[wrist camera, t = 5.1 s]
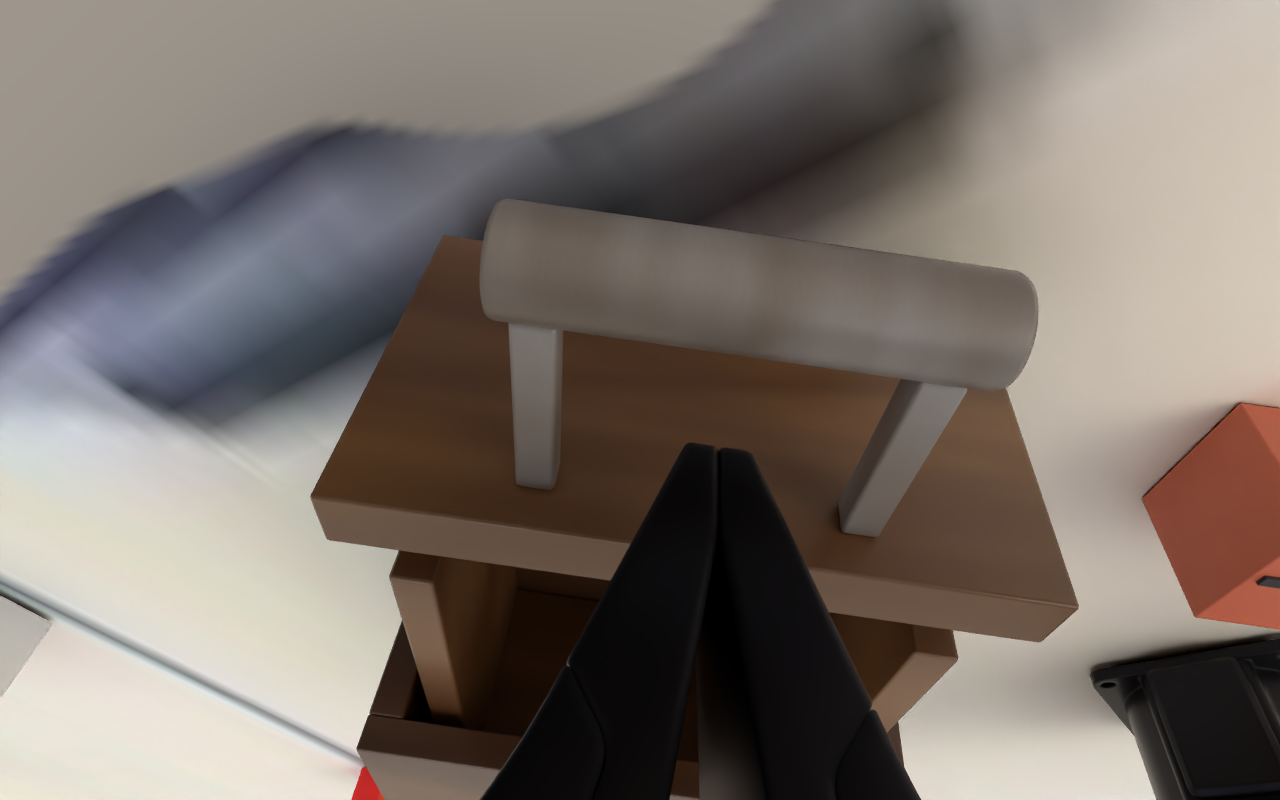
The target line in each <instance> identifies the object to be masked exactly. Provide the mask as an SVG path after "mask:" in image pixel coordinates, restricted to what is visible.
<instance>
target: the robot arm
mask: <svg viewBox="0 0 1280 800" xmlns="http://www.w3.org/2000/svg"><path fill="white" fill-rule="evenodd" d="M695 659H696V677H697V717H698V756H699V796H700V800H921V799H920V797H919V795H918V793H917V791H916V789H915V787H914V786H913V784H912V782H911V780H910V778H909V776H908V774H907V772H906V770H905V768H904V766H903V764H902V762H901V760H900V758H899V756H898V754H897V752H896V750H895V748H894V746H893V745H892V742H891V740H890V738H889V736H888V734H887V732H886V730H885V728H884V726H883V724H882V721H881V719H880V717H879V715H878V713H877V711H876V710H873V709H872V710H870V709H871V707H872V701H871V699H870V697H869V695H868V693H867V691H866V689H865V687H864V684H863V682H862V680H861V678H860V676H859V674H858V672H857V670H856V668H855V666H854V664H853V661H852V659H851V657H850V655H849V653H848V651H847V649H846V647H845V645H844V643H843V641H842V638H841V636H840V634H839V632H838V630H837V628H836V626H835V624H834V622H833V620H832V618H831V615H830V613H829V611H828V609H827V607H826V605H825V603H824V601H823V599H822V597H821V595H820V593H819V590H818V588H817V586H816V584H815V582H814V580H813V578H812V576H811V574H810V572H809V570H808V567H807V565H806V563H805V561H804V559H803V557H802V555H801V553H800V551H799V549H798V547H797V544H796V542H795V540H794V538H793V536H792V534H791V532H790V530H789V528H788V526H787V524H786V521H785V519H784V517H783V515H782V513H781V511H780V509H779V507H778V505H777V503H776V501H775V498H774V496H773V494H772V492H771V490H770V488H769V486H768V484H767V482H766V480H765V478H764V475H763V473H762V471H761V469H760V467H759V465H758V463H757V461H756V459H755V457H754V455H753V454H752V453H751V452H750V451H747V450H741V449H734V448H727V447H723V448H720V449H719V450H717V448H716V447H715V446H713V445H706V444H699V443H692V442H689V443H687V444H686V445H685V446H684V447H683V449H682V451H681V452H680V454H679V456H678V458H677V460H676V462H675V463H674V465H673V467H672V469H671V471H670V473H669V474H668V476H667V478H666V480H665V482H664V483H663V485H662V487H661V489H660V491H659V493H658V494H657V496H656V498H655V500H654V502H653V504H652V505H651V507H650V509H649V511H648V513H647V515H646V516H645V518H644V520H643V522H642V524H641V526H640V527H639V529H638V531H637V533H636V535H635V537H634V538H633V540H632V542H631V544H630V546H629V548H628V549H627V551H626V553H625V555H624V557H623V559H622V560H621V562H620V564H619V566H618V568H617V569H616V571H615V573H614V575H613V577H612V579H611V580H610V582H609V584H608V586H607V588H606V590H605V591H604V593H603V595H602V597H601V599H600V601H599V602H598V604H597V606H596V608H595V610H594V612H593V613H592V615H591V617H590V619H589V621H588V623H587V624H586V626H585V628H584V630H583V632H582V634H581V635H580V637H579V639H578V641H577V643H576V645H575V646H574V648H573V650H572V652H571V654H570V655H569V657H568V659H567V665H566V666H563V668H562V669H561V671H560V673H559V675H558V677H557V678H556V680H555V682H554V684H553V686H552V688H551V689H550V691H549V693H548V695H547V697H546V698H545V700H544V702H543V703H542V705H541V707H540V708H539V710H538V712H537V714H536V715H535V717H534V719H533V720H532V722H531V724H530V725H529V727H528V729H527V731H526V732H525V734H524V736H523V737H522V739H521V740H520V742H519V743H518V745H517V746H516V748H515V749H514V751H513V752H512V753H511V755H510V756H509V758H508V759H507V761H506V762H505V764H504V765H503V767H502V768H501V770H500V771H499V773H498V774H497V776H496V777H495V779H494V780H493V782H492V783H491V784H490V786H489V787H488V789H487V790H486V791H485V793H484V794H483V796H482V797H481V798H480V800H670V794H671V789H672V784H673V778H674V773H675V767H676V762H677V757H678V751H679V746H680V740H681V735H682V729H683V724H684V719H685V713H686V708H687V702H688V697H689V692H690V686H691V681H692V675H693V670H694V665H695ZM1090 677H1091V680H1092V683H1093V686H1094V688H1095V689H1096V690H1097V692H1098V693H1099V694H1100V695H1101V696H1102V698H1103V699H1104V700H1105V701H1106V702H1107V704H1108V705H1109V706H1110V707H1111V708H1112V710H1113V711H1114V712H1115V713H1116V715H1117V716H1118V717H1119V718H1120V719H1121V721H1122V722H1123V723H1124V724H1125V725H1126V727H1127V728H1128V729H1129V730H1130V731H1131V733H1132V734H1133V735H1134V736H1135V739H1136V742H1137V745H1138V748H1139V751H1140V754H1141V756H1142V759H1143V762H1144V765H1145V768H1146V771H1147V774H1148V777H1149V780H1150V783H1151V785H1152V788H1153V791H1154V794H1155V797H1156V800H1280V638H1279V639H1274V640H1268V641H1262V642H1256V643H1250V644H1245V645H1239V646H1233V647H1227V648H1221V649H1216V650H1210V651H1204V652H1198V653H1193V654H1187V655H1181V656H1175V657H1169V658H1164V659H1158V660H1152V661H1146V662H1140V663H1135V664H1129V665H1123V666H1117V667H1112V668H1106V669H1100V670H1096V671H1094V672H1092V673H1091V674H1090Z"/></svg>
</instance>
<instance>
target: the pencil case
mask: <svg viewBox="0 0 1280 800" xmlns="http://www.w3.org/2000/svg"><path fill="white" fill-rule="evenodd" d="M1142 500H1143V503H1144V505H1145V507H1146V509H1147V512H1148V514H1149V516H1150V518H1151V521H1152V523H1153V525H1154V527H1155V530H1156V532H1157V534H1158V536H1159V538H1160V541H1161V543H1162V545H1163V547H1164V550H1165V552H1166V554H1167V556H1168V559H1169V561H1170V563H1171V565H1172V568H1173V570H1174V572H1175V574H1176V576H1177V579H1178V581H1179V583H1180V585H1181V588H1182V590H1183V592H1184V594H1185V597H1186V599H1187V601H1188V603H1189V605H1190V608H1191V610H1192V612H1193V614H1194V616H1195V617H1197V618H1204V619H1211V620H1218V621H1225V622H1231V623H1238V624H1245V625H1252V626H1259V627H1266V628H1273V629H1280V409H1279V408H1272V407H1265V406H1258V405H1251V404H1244V403H1240V404H1239V405H1238V406H1237V407H1236V408H1235V409H1234V410H1233V411H1232V412H1231V413H1230V414H1229V415H1228V416H1226V417H1225V418H1224V419H1223V420H1222V421H1221V422H1220V423H1219V424H1218V425H1217V426H1216V427H1215V428H1214V429H1213V430H1212V431H1211V432H1210V433H1209V434H1208V435H1207V436H1206V437H1205V438H1204V439H1203V440H1202V441H1201V442H1200V443H1199V444H1198V445H1197V446H1196V447H1195V448H1194V449H1193V450H1192V451H1191V452H1190V453H1189V454H1188V455H1187V456H1185V457H1184V458H1183V459H1182V460H1181V461H1180V462H1179V463H1178V464H1177V465H1176V466H1175V467H1174V468H1173V469H1172V470H1171V471H1170V472H1169V473H1168V474H1167V475H1166V476H1165V477H1164V478H1163V479H1162V480H1161V481H1160V482H1159V483H1158V484H1157V485H1156V486H1155V487H1154V488H1153V489H1152V490H1151V491H1150V492H1149V493H1148V494H1147V495H1145V496H1144V497H1143V499H1142Z"/></svg>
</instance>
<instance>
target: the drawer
mask: <svg viewBox="0 0 1280 800" xmlns="http://www.w3.org/2000/svg"><path fill="white" fill-rule="evenodd" d="M1037 324H1038V299H1037V294H1036V290H1035V287H1034V285H1033V283H1032V281H1031V280H1030V279H1029V278H1028V277H1027V276H1025V275H1024V274H1022V273H1021V272H1018V271H1014V270H1007V269H1000V268H993V267H986V266H979V265H972V264H965V263H958V262H951V261H944V260H937V259H930V258H923V257H916V256H909V255H902V254H895V253H888V252H881V251H874V250H867V249H860V248H853V247H846V246H839V245H832V244H825V243H818V242H811V241H804V240H797V239H790V238H783V237H776V236H769V235H762V234H755V233H748V232H741V231H734V230H726V229H719V228H712V227H705V226H698V225H691V224H684V223H677V222H670V221H663V220H656V219H649V218H642V217H635V216H628V215H621V214H614V213H607V212H600V211H593V210H586V209H579V208H572V207H565V206H558V205H551V204H544V203H537V202H530V201H523V200H516V199H509V198H505V199H502V200H499V201H498V202H497V203H496V204H495V206H494V208H493V210H492V212H491V214H490V217H489V219H488V222H487V226H486V229H485V234H484V239H483V241H481V240H474V239H467V238H460V237H453V236H446V235H445V236H443V237H442V239H441V241H440V243H439V245H438V247H437V249H436V251H435V253H434V255H433V257H432V259H431V261H430V263H429V265H428V267H427V269H426V270H425V272H424V274H423V276H422V278H421V280H420V282H419V284H418V286H417V288H416V290H415V292H414V294H413V296H412V298H411V300H410V302H409V304H408V306H407V308H406V310H405V312H404V314H403V316H402V318H401V319H400V321H399V323H398V325H397V327H396V329H395V331H394V333H393V335H392V337H391V339H390V341H389V343H388V345H387V347H386V349H385V351H384V353H383V355H382V357H381V359H380V361H379V363H378V365H377V366H376V368H375V370H374V372H373V374H372V376H371V378H370V380H369V382H368V384H367V386H366V388H365V390H364V392H363V394H362V396H361V398H360V400H359V402H358V404H357V406H356V408H355V410H354V412H353V414H352V415H351V417H350V419H349V421H348V423H347V425H346V427H345V429H344V431H343V433H342V435H341V437H340V439H339V441H338V443H337V445H336V447H335V449H334V451H333V453H332V455H331V457H330V459H329V461H328V462H327V464H326V466H325V468H324V470H323V472H322V474H321V476H320V478H319V480H318V482H317V484H316V486H315V488H314V490H313V492H312V494H311V501H312V503H313V506H314V508H315V511H316V513H317V516H318V518H319V521H320V523H321V526H322V528H323V531H324V533H325V536H326V538H327V539H328V540H331V541H338V542H345V543H352V544H359V545H366V546H373V547H380V548H387V549H394V550H399V552H398V555H397V557H396V560H395V562H394V565H393V568H392V570H391V573H390V575H389V577H390V582H391V585H392V588H393V591H394V595H395V598H396V601H397V604H398V608H399V611H400V614H401V617H402V621H403V624H404V627H405V630H406V634H407V637H408V640H409V643H410V647H411V650H412V653H413V656H414V660H415V663H416V666H417V669H418V673H419V676H420V679H421V682H422V686H423V689H424V692H425V695H426V699H427V702H428V705H429V708H430V712H431V715H432V718H433V721H434V724H438V725H445V726H452V727H459V728H466V729H473V730H480V731H487V732H494V733H500V734H507V735H514V736H521V737H523V736H524V734H525V732H526V731H527V729H528V727H529V725H530V724H531V722H532V720H533V719H534V717H535V715H536V714H537V712H538V710H539V708H540V707H541V705H542V703H543V702H544V700H545V698H546V697H547V695H548V693H549V691H550V689H551V688H552V686H553V684H554V682H555V680H556V678H557V677H558V675H559V673H560V671H561V669H562V668H563V666H566V665H567V659H568V657H569V655H570V654H571V652H572V650H573V648H574V646H575V645H576V643H577V641H578V639H579V637H580V635H581V634H582V632H583V630H584V628H585V626H586V624H587V623H588V621H589V619H590V617H591V615H592V613H593V612H594V610H595V608H596V606H597V604H598V602H599V601H600V599H601V597H602V595H603V593H604V591H605V590H606V588H607V586H608V584H609V582H610V580H611V579H612V577H613V575H614V573H615V571H616V569H617V568H618V566H619V564H620V562H621V560H622V559H623V557H624V555H625V553H626V551H627V549H628V548H629V546H630V544H631V542H632V540H633V538H634V537H635V535H636V533H637V531H638V529H639V527H640V526H641V524H642V522H643V520H644V518H645V516H646V515H647V513H648V511H649V509H650V507H651V505H652V504H653V502H654V500H655V498H656V496H657V494H658V493H659V491H660V489H661V487H662V485H663V483H664V482H665V480H666V478H667V476H668V474H669V473H670V471H671V469H672V467H673V465H674V463H675V462H676V460H677V458H678V456H679V454H680V452H681V451H682V449H683V447H684V446H685V445H686V444H687V443H689V442H692V443H699V444H706V445H713V446H715V447H716V448H717V450H719V449H720V448H723V447H727V448H734V449H741V450H747V451H750V452H751V453H752V454H753V455H754V457H755V459H756V461H757V463H758V465H759V467H760V469H761V471H762V473H763V475H764V478H765V480H766V482H767V484H768V486H769V488H770V490H771V492H772V494H773V496H774V498H775V501H776V503H777V505H778V507H779V509H780V511H781V513H782V515H783V517H784V519H785V521H786V524H787V526H788V528H789V530H790V532H791V534H792V536H793V538H794V540H795V542H796V544H797V547H798V549H799V551H800V553H801V555H802V557H803V559H804V561H805V563H806V565H807V567H808V570H809V572H810V574H811V576H812V578H813V580H814V582H815V584H816V586H817V588H818V590H819V593H820V595H821V597H822V599H823V601H824V603H825V605H826V607H827V609H828V611H829V613H830V615H831V618H832V620H833V622H834V624H835V626H836V628H837V630H838V632H839V634H840V636H841V638H842V641H843V643H844V645H845V647H846V649H847V651H848V653H849V655H850V657H851V659H852V661H853V664H854V666H855V668H856V670H857V672H858V674H859V676H860V678H861V680H862V682H863V684H864V687H865V689H866V691H867V693H868V695H869V697H870V699H871V701H872V707H871V709H870V710H872V709H873V710H876V711H877V713H878V715H879V717H880V719H881V721H882V724H883V726H884V728H885V730H886V732H888V731H889V730H890V729H891V728H892V727H893V726H894V725H895V724H896V723H897V722H898V721H899V720H900V719H901V718H902V717H903V716H904V715H905V714H906V713H907V711H908V710H909V709H910V708H911V707H912V706H913V705H914V704H915V703H916V702H917V701H918V700H919V699H920V698H921V697H922V696H923V695H924V694H925V693H926V692H927V691H928V690H929V689H930V688H931V687H932V686H933V685H934V684H935V683H936V682H937V681H938V680H939V679H940V678H941V677H942V676H943V675H944V674H945V673H946V672H947V671H948V670H949V669H950V668H951V667H952V666H953V665H954V664H955V663H956V662H957V660H958V655H957V650H956V645H955V640H954V635H953V630H956V631H963V632H969V633H976V634H983V635H990V636H997V637H1004V638H1011V639H1018V640H1025V641H1032V642H1041V641H1042V640H1044V639H1045V638H1046V637H1047V636H1048V635H1049V634H1050V633H1051V632H1053V631H1054V630H1055V629H1056V628H1057V627H1058V626H1059V625H1061V624H1062V623H1063V622H1064V621H1065V620H1066V619H1067V618H1068V617H1070V616H1071V615H1072V614H1073V613H1074V612H1075V611H1076V610H1077V609H1078V602H1077V599H1076V596H1075V593H1074V590H1073V587H1072V584H1071V581H1070V578H1069V575H1068V572H1067V569H1066V566H1065V563H1064V560H1063V557H1062V554H1061V551H1060V548H1059V545H1058V542H1057V539H1056V536H1055V533H1054V530H1053V527H1052V524H1051V521H1050V518H1049V515H1048V512H1047V509H1046V506H1045V503H1044V500H1043V497H1042V494H1041V491H1040V488H1039V485H1038V482H1037V479H1036V476H1035V473H1034V470H1033V467H1032V464H1031V461H1030V458H1029V455H1028V452H1027V449H1026V446H1025V443H1024V440H1023V437H1022V434H1021V431H1020V428H1019V425H1018V422H1017V419H1016V416H1015V414H1014V411H1013V408H1012V405H1011V402H1010V399H1009V396H1008V393H1007V390H1006V387H1007V386H1009V385H1010V384H1011V383H1013V381H1014V380H1015V379H1016V378H1017V377H1018V376H1019V374H1020V373H1021V371H1022V369H1023V368H1024V366H1025V364H1026V362H1027V360H1028V358H1029V355H1030V353H1031V350H1032V347H1033V344H1034V340H1035V336H1036V331H1037ZM677 759H680V760H687V761H694V762H699V756H698V717H697V677H696V659H695V665H694V670H693V675H692V681H691V686H690V692H689V697H688V702H687V708H686V713H685V719H684V724H683V729H682V735H681V740H680V746H679V751H678V757H677Z"/></svg>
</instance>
